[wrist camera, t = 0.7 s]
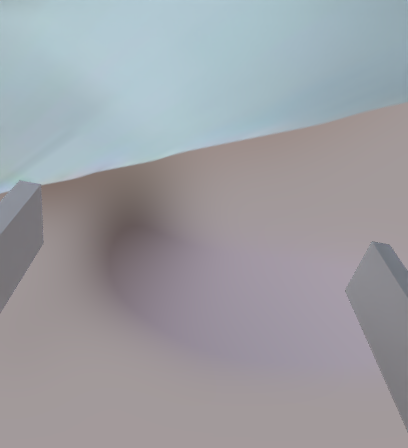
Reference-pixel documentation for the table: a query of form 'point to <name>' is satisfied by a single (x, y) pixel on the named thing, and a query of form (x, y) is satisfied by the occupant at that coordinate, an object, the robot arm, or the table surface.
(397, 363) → the robot arm
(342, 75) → the table surface
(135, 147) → the table surface
